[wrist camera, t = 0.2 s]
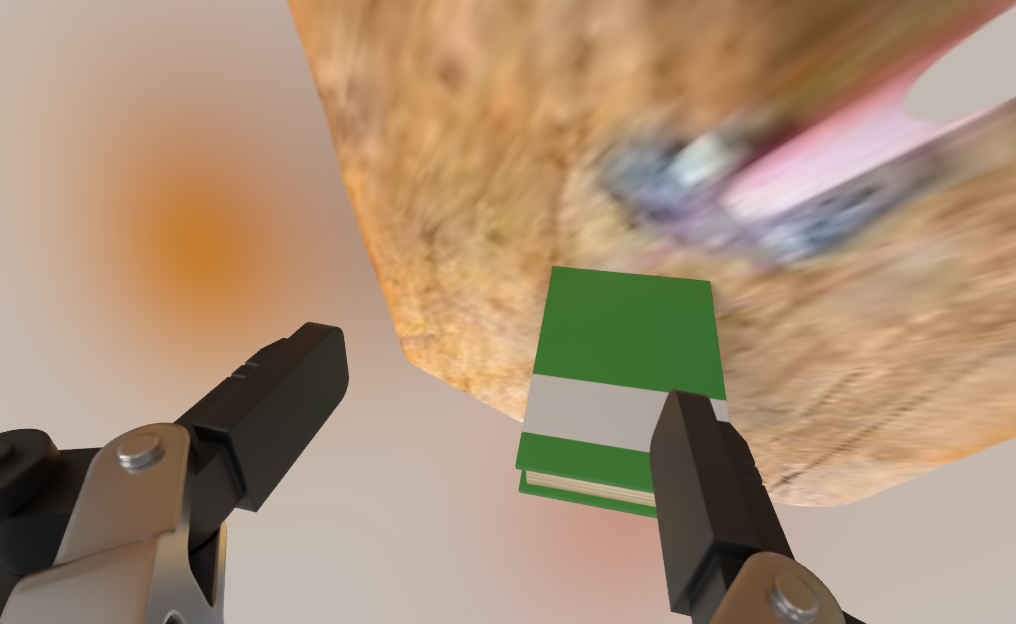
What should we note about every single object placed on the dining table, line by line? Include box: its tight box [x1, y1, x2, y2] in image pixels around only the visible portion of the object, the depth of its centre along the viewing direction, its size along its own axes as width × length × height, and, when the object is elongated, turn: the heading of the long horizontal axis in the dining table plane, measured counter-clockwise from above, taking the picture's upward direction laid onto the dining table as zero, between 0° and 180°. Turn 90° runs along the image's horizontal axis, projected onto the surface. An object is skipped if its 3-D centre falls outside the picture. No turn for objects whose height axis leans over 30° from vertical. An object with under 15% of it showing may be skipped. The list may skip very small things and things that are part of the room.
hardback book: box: [516, 266, 729, 518], centre depth 44 cm, size 18×7×24 cm, turn 93°
